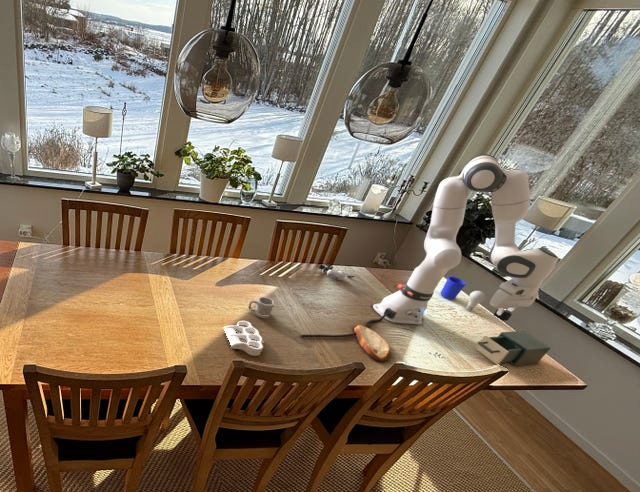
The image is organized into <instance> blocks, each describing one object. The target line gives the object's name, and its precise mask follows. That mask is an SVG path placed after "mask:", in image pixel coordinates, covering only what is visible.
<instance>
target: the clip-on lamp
mask: <svg viewBox="0 0 640 492" xmlns="http://www.w3.org/2000/svg"><path fill="white" fill-rule="evenodd" d="M318 269H319V270H322V271H321V272H322V274H325V273H326V275H327V276H328V277H331V278H334V279H335V280H336V281H343V280H344V279H345V278H346V277H347V278H356V276H355V275H347V267H346V266H344V268H343V270H333V269H334V266H333V265H331V264H327V265H326V264H323V263H321V264H320V263H319V266H318Z"/></svg>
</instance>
